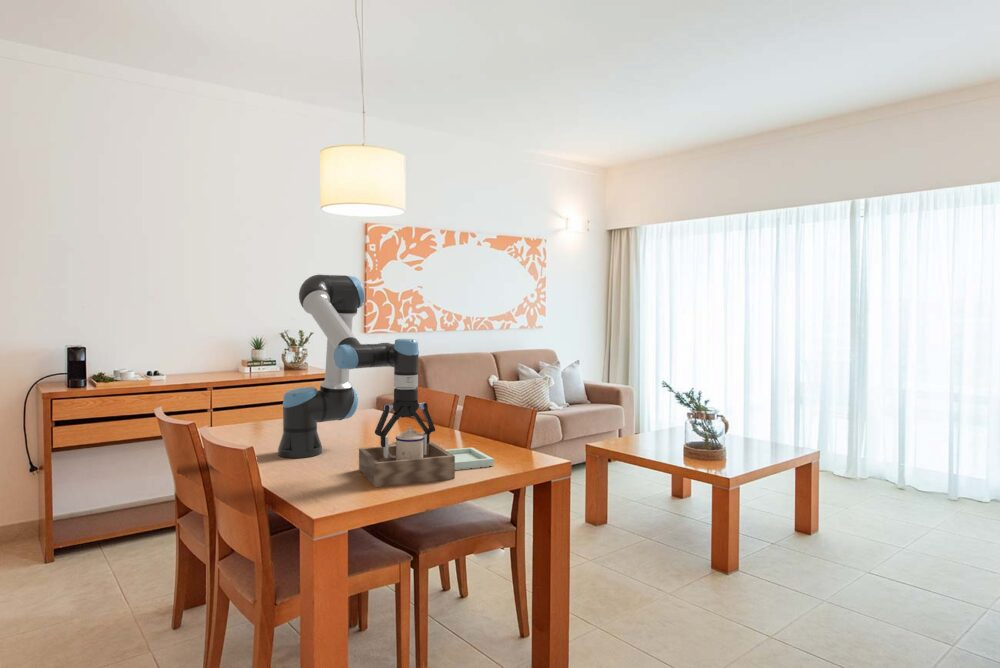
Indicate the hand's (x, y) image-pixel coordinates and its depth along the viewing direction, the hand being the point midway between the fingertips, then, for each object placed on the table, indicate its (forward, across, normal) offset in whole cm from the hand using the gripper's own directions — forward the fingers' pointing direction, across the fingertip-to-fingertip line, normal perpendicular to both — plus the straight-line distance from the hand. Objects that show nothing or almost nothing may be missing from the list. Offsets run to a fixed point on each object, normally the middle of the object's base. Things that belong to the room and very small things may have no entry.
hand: (405, 455), depth 201 cm
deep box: (+6, 0, 0) cm, 6 cm away
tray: (+6, +22, +8) cm, 24 cm away
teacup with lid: (+3, 0, 0) cm, 3 cm away
